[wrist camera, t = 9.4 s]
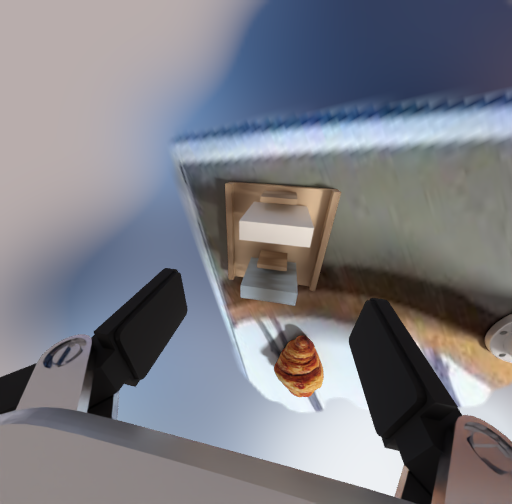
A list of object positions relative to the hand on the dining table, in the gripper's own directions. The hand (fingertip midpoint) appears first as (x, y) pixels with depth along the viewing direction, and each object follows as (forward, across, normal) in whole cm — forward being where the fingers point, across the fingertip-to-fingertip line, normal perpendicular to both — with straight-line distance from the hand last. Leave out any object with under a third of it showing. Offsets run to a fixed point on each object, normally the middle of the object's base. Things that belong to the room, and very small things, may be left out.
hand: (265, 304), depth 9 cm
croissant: (+19, -7, +34) cm, 39 cm away
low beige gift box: (+17, 0, 0) cm, 17 cm away
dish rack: (+18, 0, +4) cm, 19 cm away
